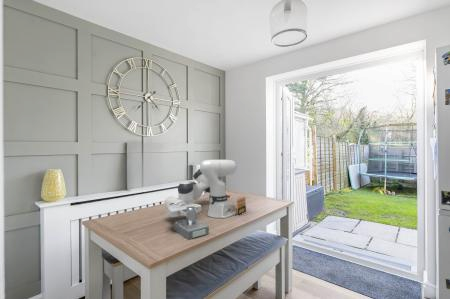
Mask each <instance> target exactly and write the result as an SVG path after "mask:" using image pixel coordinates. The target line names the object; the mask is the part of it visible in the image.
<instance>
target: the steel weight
mask: <svg viewBox="0 0 450 299" xmlns="http://www.w3.org/2000/svg"><path fill="white" fill-rule="evenodd" d="M186 212H188V216H185V218H186V224H187V225H194V224H195V219H196V214H195V207H187V208H186Z"/></svg>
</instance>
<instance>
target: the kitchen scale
mask: <svg viewBox="0 0 450 299" xmlns="http://www.w3.org/2000/svg"><path fill="white" fill-rule="evenodd" d="M172 230H174V231H175V232H176V233H178V234H179V235H181V236H182V237H183V238H184V239H187V240H192V239H196V238H199V237H203V236H207V235H210V232H209V231H210V227H209V226H208V224H206V223H204V222H201V221H200V220H198V219H196V218H195V224H194V225H187V224H186V219H180V220H177V221H174V222H173V229H172Z"/></svg>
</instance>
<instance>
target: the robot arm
mask: <svg viewBox="0 0 450 299" xmlns="http://www.w3.org/2000/svg"><path fill="white" fill-rule="evenodd" d="M237 167H238V166H237V163H236V162H235V160H230V159H205V160H202V161H201V163H200V165H199V168H198V169H196V170H195V171H194V173H193V179H194V180H195V181H196V182H195V181H189V182H188V181H186V182H181V183H179V184H178V186H177V193H178V197H174V196H168V197H167V198H165V201H164V206H165V208H166V215H167V216H168V217H169V218H175V217H180V216H184V217H186V216H188V212H186V208H187V207H195V215H197V214H198V213H200V212H202V205H201V204H198V203H195V200H198V199H200V198H201V197H202V195H203V193H209V195H208V196H209V201H208V202H209V206H208V211H207V214H206V216H208V217H210V218H216V219H218V218H219V219H220V218H221V219H227V218H230V217H232V216H236V215H235V214H236V208H235V204H234V203H233V202H232V201H230V200H229V199H231V195H230V194H227V192H226V191H227V185H226V182H225V181H223V180H221V179H220V178H219V177H226V176H230V175H231V176H232V175H234V174H235V173H236V171H237Z"/></svg>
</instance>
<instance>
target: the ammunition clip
mask: <svg viewBox="0 0 450 299" xmlns="http://www.w3.org/2000/svg"><path fill="white" fill-rule="evenodd" d="M235 210H236V215H239V216H241V215H243V214H242V213H244V212H246V213H247V205H246V196H242V197H239V198H237V199H236V208H235ZM240 214H241V215H240ZM244 214H245V213H244ZM236 215H235V216H236Z"/></svg>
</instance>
